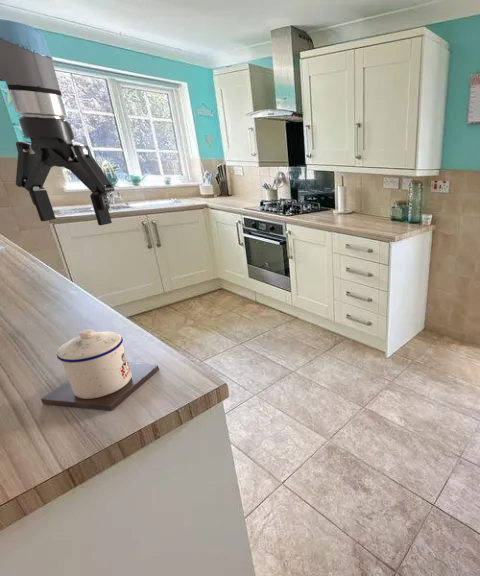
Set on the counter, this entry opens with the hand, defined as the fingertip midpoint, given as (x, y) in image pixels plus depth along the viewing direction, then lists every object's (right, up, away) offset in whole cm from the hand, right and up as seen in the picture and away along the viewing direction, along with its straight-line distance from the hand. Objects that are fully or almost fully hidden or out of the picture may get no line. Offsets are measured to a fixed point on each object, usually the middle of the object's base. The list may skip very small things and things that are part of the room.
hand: (76, 222), depth 74 cm
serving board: (+15, -34, -10) cm, 39 cm away
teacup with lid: (+15, -33, -11) cm, 38 cm away
